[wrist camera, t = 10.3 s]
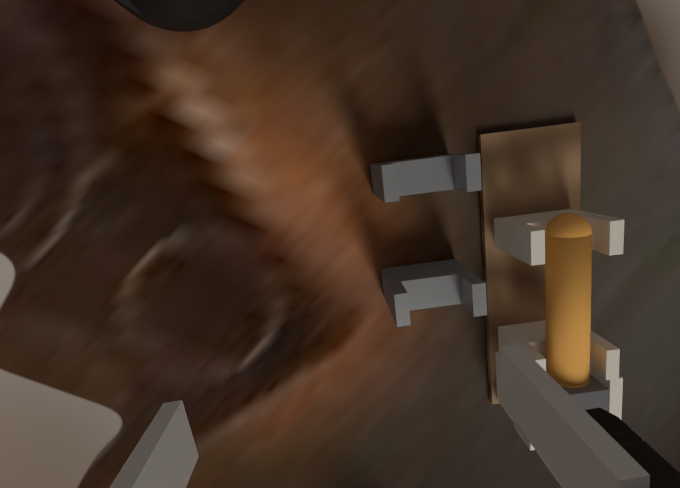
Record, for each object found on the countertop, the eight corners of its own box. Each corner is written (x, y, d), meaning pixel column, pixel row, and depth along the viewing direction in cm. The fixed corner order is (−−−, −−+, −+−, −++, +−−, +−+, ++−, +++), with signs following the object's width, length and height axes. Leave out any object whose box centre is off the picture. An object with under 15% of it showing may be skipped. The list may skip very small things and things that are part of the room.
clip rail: (477, 135, 39) (480, 134, 38) (576, 122, 39) (581, 121, 38) (489, 399, 46) (492, 404, 45) (573, 388, 46) (578, 392, 45)
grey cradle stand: (369, 164, 39) (381, 165, 31) (448, 154, 39) (480, 152, 31) (383, 295, 42) (397, 326, 34) (456, 285, 42) (487, 315, 34)
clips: (489, 219, 40) (526, 232, 33) (574, 208, 40) (629, 219, 33) (497, 403, 45) (530, 450, 38) (573, 393, 45) (620, 438, 38)
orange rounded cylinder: (532, 213, 36) (560, 220, 32) (579, 207, 36) (614, 213, 32) (535, 408, 40) (560, 438, 36) (577, 402, 40) (607, 431, 36)
